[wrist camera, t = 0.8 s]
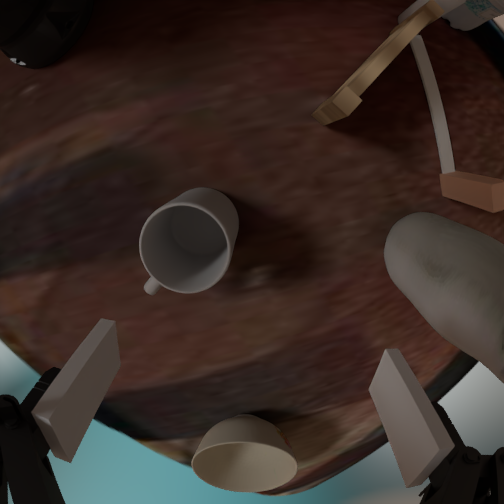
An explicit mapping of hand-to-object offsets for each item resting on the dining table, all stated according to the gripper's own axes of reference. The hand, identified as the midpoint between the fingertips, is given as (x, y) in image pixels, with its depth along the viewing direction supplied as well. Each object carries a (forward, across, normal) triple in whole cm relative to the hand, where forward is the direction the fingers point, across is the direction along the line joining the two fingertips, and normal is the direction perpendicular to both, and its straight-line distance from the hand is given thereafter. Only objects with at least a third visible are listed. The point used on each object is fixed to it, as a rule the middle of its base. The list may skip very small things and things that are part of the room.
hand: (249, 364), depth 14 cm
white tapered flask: (+25, +20, +1) cm, 32 cm away
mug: (+25, -7, -1) cm, 26 cm away
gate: (+24, +10, +21) cm, 33 cm away
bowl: (+24, +3, -34) cm, 42 cm away
